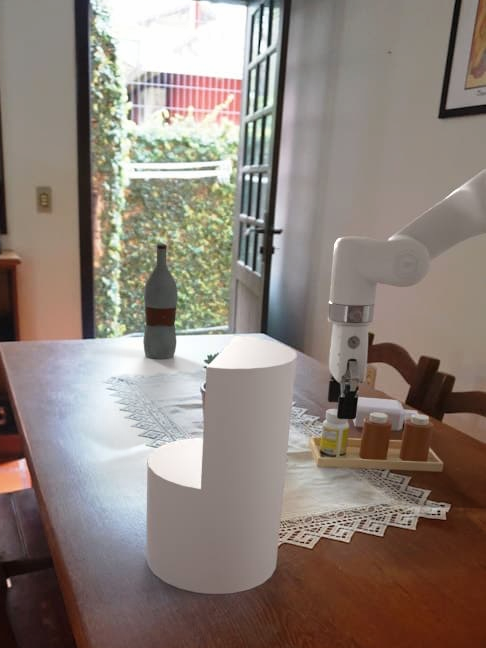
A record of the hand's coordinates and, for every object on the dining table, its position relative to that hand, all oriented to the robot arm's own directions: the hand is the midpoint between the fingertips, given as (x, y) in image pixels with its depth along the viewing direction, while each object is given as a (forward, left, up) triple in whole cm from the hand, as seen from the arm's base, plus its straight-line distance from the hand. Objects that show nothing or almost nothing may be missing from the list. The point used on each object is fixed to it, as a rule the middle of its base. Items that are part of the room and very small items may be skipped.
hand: (341, 409), depth 122 cm
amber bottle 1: (-7, 0, -9) cm, 11 cm away
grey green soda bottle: (+37, -73, -10) cm, 82 cm away
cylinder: (+23, +38, -10) cm, 45 cm away
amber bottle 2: (-14, 0, -9) cm, 17 cm away
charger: (-15, -20, -10) cm, 27 cm away
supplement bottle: (+1, 0, -9) cm, 9 cm away
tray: (-7, 0, -9) cm, 12 cm away
